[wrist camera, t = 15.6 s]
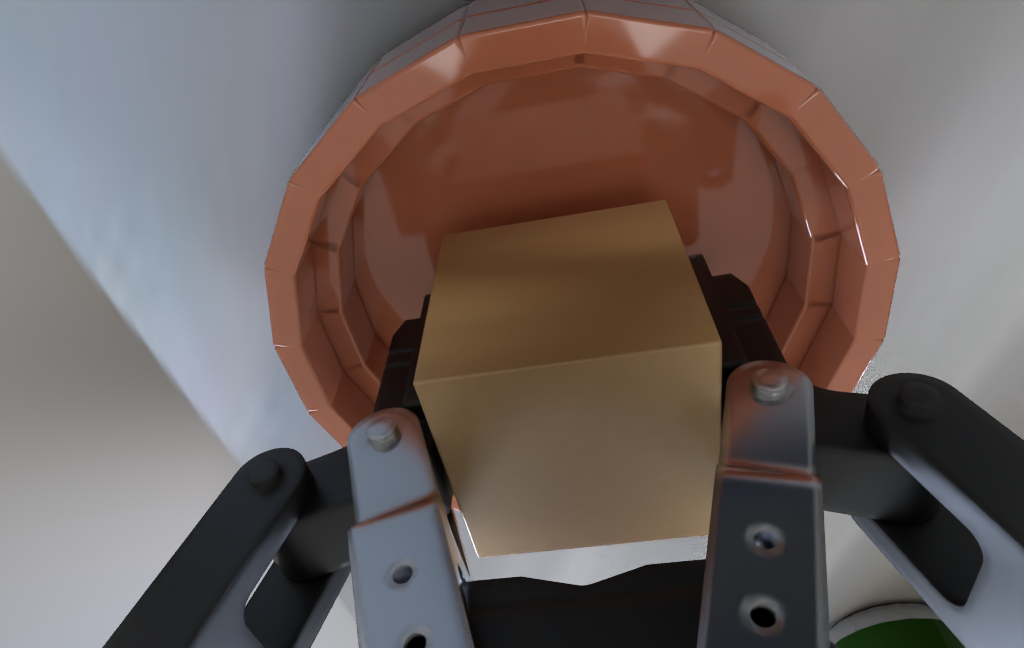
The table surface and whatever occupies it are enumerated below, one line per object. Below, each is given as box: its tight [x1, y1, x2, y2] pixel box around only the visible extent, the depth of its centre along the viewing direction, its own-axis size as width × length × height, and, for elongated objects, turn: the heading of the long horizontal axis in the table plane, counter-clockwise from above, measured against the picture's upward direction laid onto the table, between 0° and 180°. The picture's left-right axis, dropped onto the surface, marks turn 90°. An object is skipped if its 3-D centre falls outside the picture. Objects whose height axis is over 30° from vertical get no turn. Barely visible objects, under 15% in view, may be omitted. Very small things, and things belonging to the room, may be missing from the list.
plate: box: [264, 0, 900, 512], centre depth 14 cm, size 12×12×3 cm
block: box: [413, 200, 722, 558], centre depth 12 cm, size 4×4×4 cm
